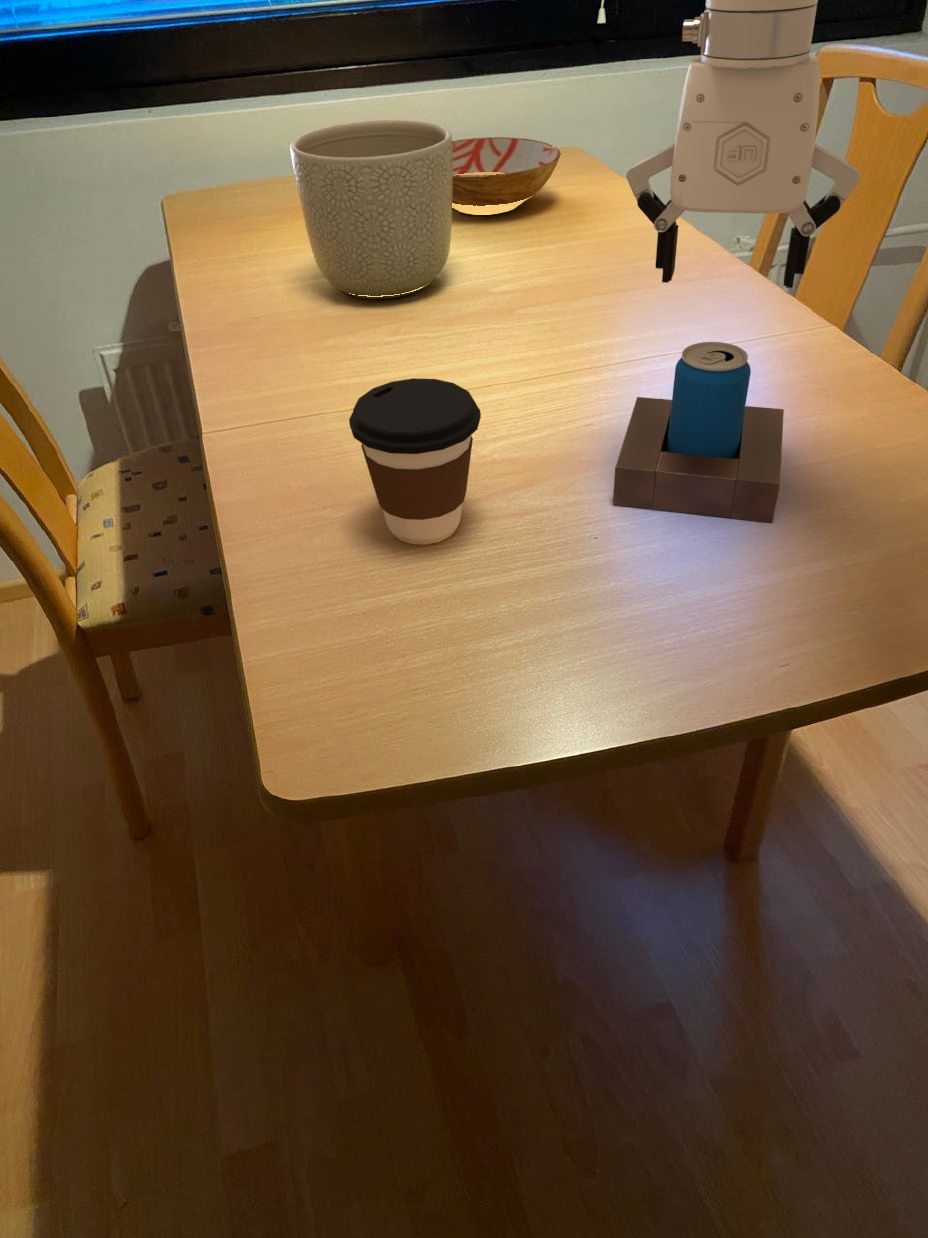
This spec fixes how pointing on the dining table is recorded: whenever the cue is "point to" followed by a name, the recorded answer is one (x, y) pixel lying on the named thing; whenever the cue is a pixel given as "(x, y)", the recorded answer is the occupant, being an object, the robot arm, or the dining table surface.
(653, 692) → the dining table surface
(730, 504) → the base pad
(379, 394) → the coffee cup
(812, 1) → the robot arm
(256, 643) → the dining table surface
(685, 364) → the beverage can
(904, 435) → the dining table surface
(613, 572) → the dining table surface
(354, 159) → the planter
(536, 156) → the bowl
